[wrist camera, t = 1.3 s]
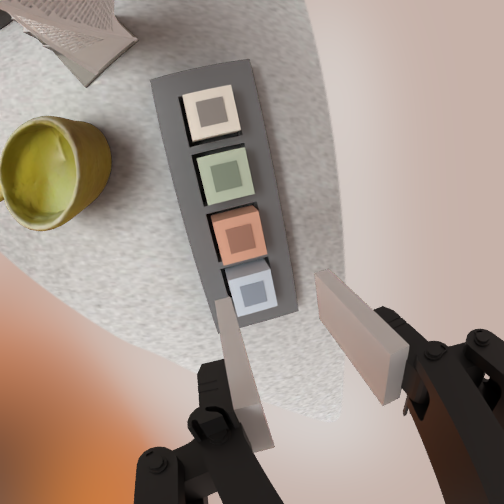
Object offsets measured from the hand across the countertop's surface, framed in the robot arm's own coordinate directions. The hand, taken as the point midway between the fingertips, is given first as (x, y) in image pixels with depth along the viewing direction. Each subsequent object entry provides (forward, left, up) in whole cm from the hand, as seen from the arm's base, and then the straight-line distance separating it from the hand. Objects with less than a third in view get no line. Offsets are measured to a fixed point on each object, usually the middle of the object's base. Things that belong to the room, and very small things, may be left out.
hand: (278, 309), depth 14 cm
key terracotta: (0, 0, -15) cm, 15 cm away
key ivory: (-11, 0, -15) cm, 19 cm away
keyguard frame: (-3, 0, -17) cm, 17 cm away
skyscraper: (-23, -9, -17) cm, 30 cm away
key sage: (-5, 0, -15) cm, 16 cm away
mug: (-11, -16, -17) cm, 26 cm away
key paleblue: (+6, 0, -15) cm, 16 cm away
